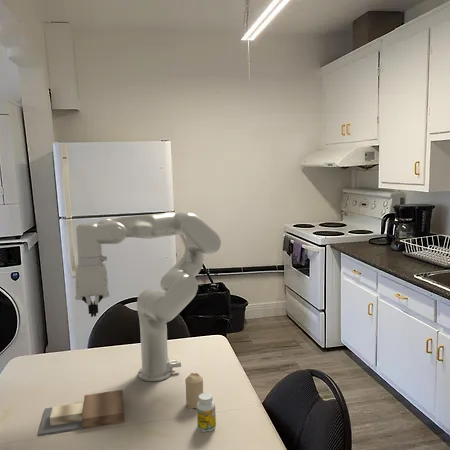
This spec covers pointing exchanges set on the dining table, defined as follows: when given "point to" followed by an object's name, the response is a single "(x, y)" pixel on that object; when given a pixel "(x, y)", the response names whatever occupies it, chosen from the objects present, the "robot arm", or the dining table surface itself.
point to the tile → (66, 414)
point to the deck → (103, 409)
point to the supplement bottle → (206, 412)
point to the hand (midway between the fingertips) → (93, 315)
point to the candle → (193, 389)
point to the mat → (48, 429)
